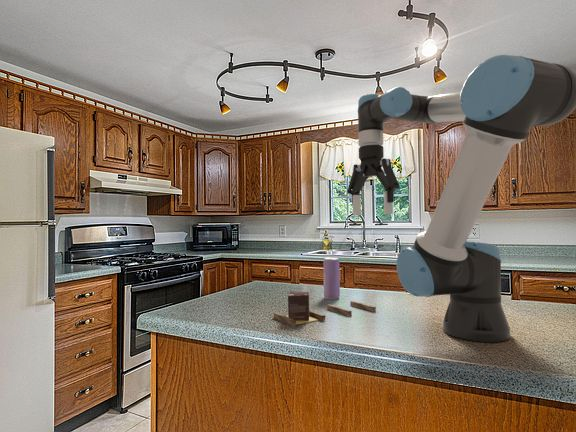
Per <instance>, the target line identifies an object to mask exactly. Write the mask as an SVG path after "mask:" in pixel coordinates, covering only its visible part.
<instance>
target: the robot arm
mask: <svg viewBox="0 0 576 432" xmlns="http://www.w3.org/2000/svg"><path fill="white" fill-rule="evenodd" d="M357 106H358V107H357V125H358V131H357V132H358V138H357V139H358V143H357V145H358V146H359V147H358V159H359V160H360V164H358V163H357V164H355V163H354V164H353V167H352V174H351V177H350V181H349V184H348V187H347V190H346V193H347V194H350V195H351V204H352V215H353V216H362V209H361V207H362V204H361V203H362V202H361V201H362V200H361V199H362V195H361V194H360V192H361V190H362V189H363V187H364V186H365V183H366V181H367V180H368V179H369V178H371V177H373V176H374V177H376V178H377V179H378V181H379V182H380V184H381V185H382V186H383V188H384V191H383V214H384V215H393V206H394V205H393V203H394V202H395V191H396V190H399V189H400V187H401V186H400V184H399V182H398V179H397V177H396V175H395V172H394V169H393V167H392V160H391V159H390V158H384V151H385V150H384V146H383V145H384V123H386V122H389V121H391V120H392V121H393V120H395V121H405V122H413V123H414V122H416V123H421V124H428V125H435V124H436V125H437V124H441V123H449V122H450V123H451V122H452V123H455V122H462V125H463V127H464V130H465V131H466V134H465V137H464V140H463V141H462V144H461V147H460V149H459V150H458V153H457V157H456V159H455V161H454V164H453V166H452V169H451V172H450V173H449V175H448V178H447V180H446V183H445V185H444V188H443V190H442V192H441V194H440V195H441V196H440V197H439V200H438V202H437V205H436V207H435V210H434V212H433V215H432V217H431V220H430V222H429V224H428V226H427V229H426V230H425V231H422V232H419V233H418V234H417V236H416V238H415V241H414V243H413V245H412V247H411V246H407V247H406V248H402V249H401V250H400V252H398V255H397V256H396V257H397V259H396V272H397V275H398V279H399V281H400V283H401V284H400V285H402V287H403V289H404V290H405V291H406V292H407V293H408V294H410V295H411V296H414V297H419V298H422V297H423V298H431V297H436V296H447V295H449V303H448V306H447V309H446V311H445V314H444V318H443V321H442V330H443V332H444V333H445V334H447V335H449V336H451V337H455V338H458V339H462V340H467V341H470V342H471V341H473V342H479V343H480V342H481V343H501V342H506V341H508V340H510V339H511V326H510V325H509V323H508V319H507V316H506V314H505V312H504V309H503V306H502V305H503V304H502V272H501V270H502V268H501V266H502V259H501V252H500V248H499V247H498V246H497V245H496V244H493V243H487V242H479V241H468V239H469V236H470V234H471V233H472V230H473V228H474V226H475V224H476V222H477V220H478V219H479V216H480V213H481V212H482V210H483V208H484V206H485V204H486V201H487V199H488V197H489V195H490V192H492V189H493V187H494V184H495V183H496V180H497V178H498V176H499V174H500V172H501V170H502V168H503V166H504V163H505V162H506V160H507V158H508V155H509V154H510V152H511V149H512V148H513V147H514V146H515V145H517V144H519V143H522V142H524V141H526V140H527V139H526V138H527V136H528V135H529V133H530V131H531V128H532V127H547V126H548V127H549V126H553V125H555V124H558V123H559V122H562V121H563V120H565V119H566V118H568V117H569V116H570V115H571V114H572V113H573V112H574V111H575V110H576V72H574V70H572V69H571V68H569V67H567V66H565V65H563V64H558V63H556V62H555V63H554V62H547V61H543V60H540V59H539V60H538V59H534V58H530V57H525V56H523V55H513V54H511V55H510V54H500V55H499V54H498V55H495V56H492V57H490V58H488V59H486V60H484V62H482V63H480V64H478V65H477V66H476V67H475V68H474V69H473V70H472V71H471V72H470V73H469V75H468V76H467V78H466V79H465V82H464V83H463V86H462V88H461V91H457V92H449V93H445V94H444V93H443V94H436V95H418V94H411V92H410V91H409V90H407V89H406V88H405V87H401V86H397V87H394V88H392V89H391V88H390V89H389V90H387V91H385V92H384V93H382V94H379V93H367V94H364V95H362V96H360V97H359V99H358V105H357Z"/></svg>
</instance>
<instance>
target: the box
mask: <svg viewBox="0 0 576 432" xmlns="http://www.w3.org/2000/svg"><path fill="white" fill-rule="evenodd" d="M287 306H288V307H287V308H288V309H287V312H288V313H287V314H288V315H287V316H288V317H289V318H292V319H294V320H309V310H310V292H309V291H289V292H288V296H287Z"/></svg>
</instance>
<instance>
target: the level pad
mask: <svg viewBox="0 0 576 432" xmlns="http://www.w3.org/2000/svg"><path fill="white" fill-rule="evenodd" d="M286 316H287V317H288V315H286ZM312 322H319V320H318V319H315V318H313V317H310V316H309V320H296V326H297V325H301V324H307V323H312Z"/></svg>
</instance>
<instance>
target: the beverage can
mask: <svg viewBox="0 0 576 432" xmlns="http://www.w3.org/2000/svg"><path fill="white" fill-rule="evenodd" d="M340 276H341V275H340V259H339V257H324V258H323V297H324V299H326V300H338V299H339V298H340V296H341V293H340V292H341V290H340V287H341V286H340V282H341V281H340Z"/></svg>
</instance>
